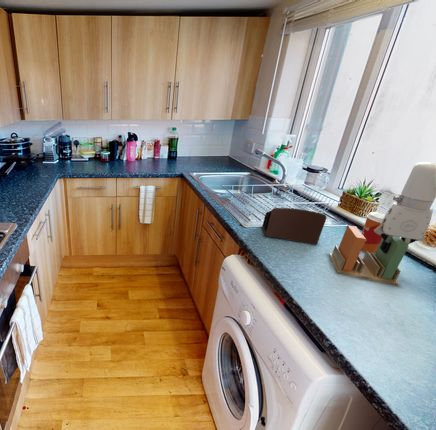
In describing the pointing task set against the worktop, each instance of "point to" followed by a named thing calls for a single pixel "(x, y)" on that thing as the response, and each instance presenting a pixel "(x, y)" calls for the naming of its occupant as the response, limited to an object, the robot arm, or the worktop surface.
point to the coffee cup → (372, 232)
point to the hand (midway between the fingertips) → (389, 252)
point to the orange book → (351, 246)
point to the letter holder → (294, 224)
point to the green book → (391, 256)
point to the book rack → (363, 267)
